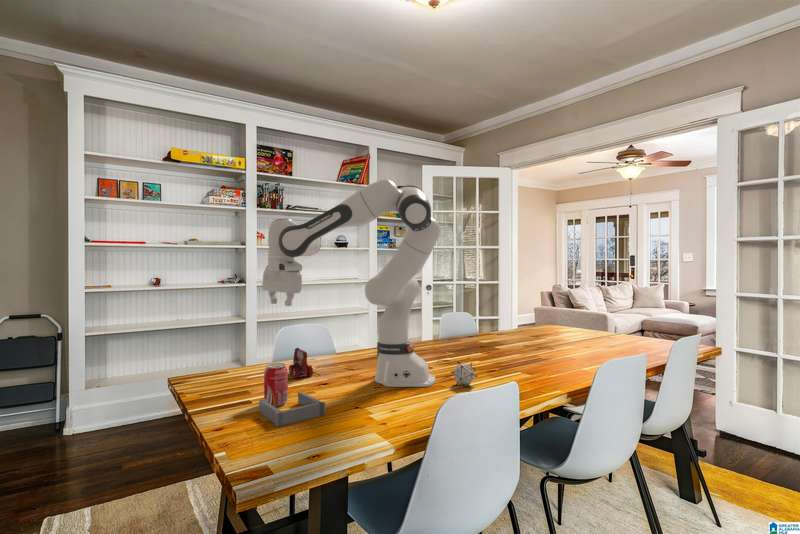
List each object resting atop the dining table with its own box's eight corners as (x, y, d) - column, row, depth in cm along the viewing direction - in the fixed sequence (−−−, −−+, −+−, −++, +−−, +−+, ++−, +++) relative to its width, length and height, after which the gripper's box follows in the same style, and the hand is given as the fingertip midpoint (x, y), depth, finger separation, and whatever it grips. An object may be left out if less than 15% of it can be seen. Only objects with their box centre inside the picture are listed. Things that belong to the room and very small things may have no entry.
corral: (257, 412, 127) (257, 400, 127) (303, 402, 136) (303, 391, 136) (276, 426, 116) (276, 413, 116) (325, 414, 125) (325, 402, 125)
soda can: (267, 400, 138) (266, 362, 138) (289, 399, 138) (289, 362, 138) (261, 408, 131) (261, 368, 131) (285, 407, 131) (285, 367, 131)
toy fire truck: (304, 370, 175) (303, 345, 175) (314, 377, 165) (314, 350, 165) (287, 373, 172) (286, 347, 172) (296, 380, 161) (296, 352, 161)
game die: (468, 394, 155) (485, 372, 155) (462, 392, 147) (479, 368, 148) (449, 379, 159) (465, 357, 160) (442, 376, 152) (459, 353, 152)
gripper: (257, 264, 157) (257, 302, 157) (289, 266, 143) (288, 307, 143) (273, 264, 161) (273, 301, 162) (305, 265, 147) (304, 306, 148)
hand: (280, 304), depth 152 cm, fingers open, 8 cm apart
